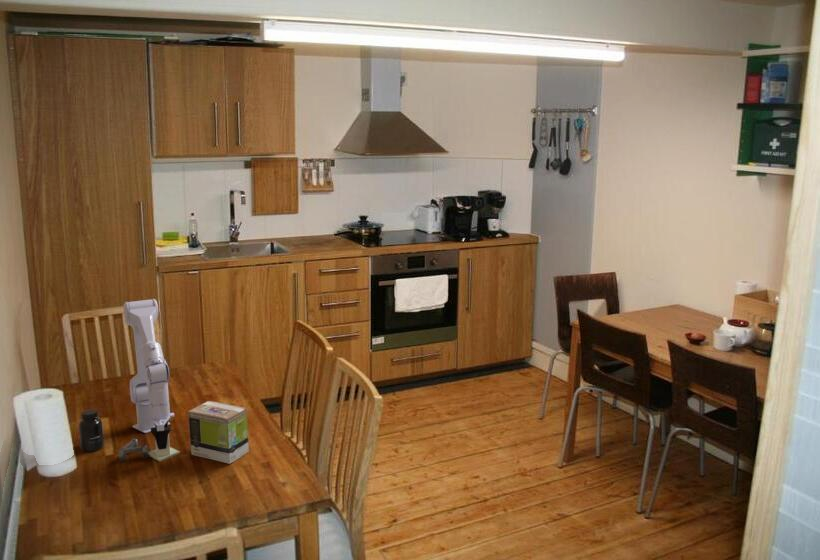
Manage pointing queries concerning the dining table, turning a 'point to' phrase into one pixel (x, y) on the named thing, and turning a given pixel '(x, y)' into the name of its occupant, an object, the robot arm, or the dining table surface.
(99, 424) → the supplement bottle
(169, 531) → the dining table surface
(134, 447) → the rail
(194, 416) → the tea box
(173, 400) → the dining table surface
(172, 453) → the pad
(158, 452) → the block
